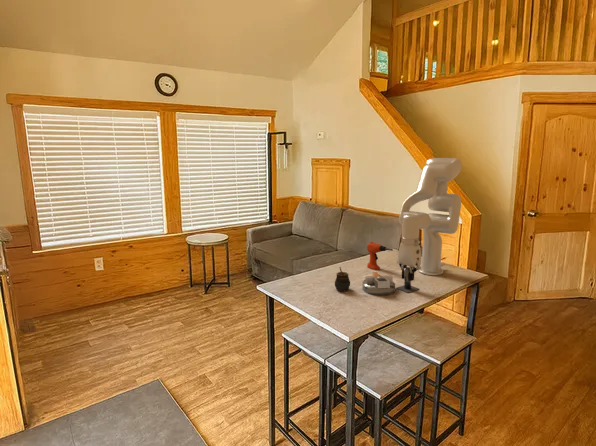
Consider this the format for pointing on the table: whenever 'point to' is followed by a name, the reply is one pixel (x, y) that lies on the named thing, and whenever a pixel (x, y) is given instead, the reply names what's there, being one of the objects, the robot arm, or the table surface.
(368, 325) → the table surface
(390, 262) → the table surface
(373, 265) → the toy drill
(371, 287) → the chuck base
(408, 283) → the grey pestle
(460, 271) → the table surface
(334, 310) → the table surface
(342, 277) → the mate gourd
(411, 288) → the mat
